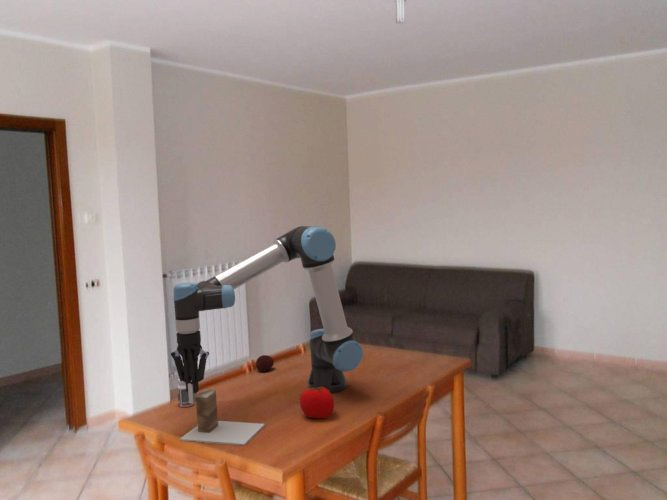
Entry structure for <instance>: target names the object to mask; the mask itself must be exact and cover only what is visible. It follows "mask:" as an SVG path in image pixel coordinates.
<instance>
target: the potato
mask: <svg viewBox="0 0 667 500" xmlns="http://www.w3.org/2000/svg"><path fill="white" fill-rule="evenodd" d="M274 363H275V360H274V359H273V357H271V356H270V355H266V354H265V355H264V354H263V355H260V356H259V357H258V358H257V359H256V362H255V367H256V369H257V370H258V371H259V372H266V371H269V370H270V369H272V368H273V366H274Z"/></svg>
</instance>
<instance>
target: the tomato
mask: <svg viewBox="0 0 667 500" xmlns="http://www.w3.org/2000/svg"><path fill="white" fill-rule="evenodd" d="M299 406H300V408H301V411H302V413H303V414H304V416H306V417H309V418H312V419H326V418H329V417H331V415H332V414H333V412H334V408H335V407H334V406H335V401H334V398H333V395H332V393H330V391H329V389H326V388H325V387H316V388H309V389H308V388H306V389H304V390H303V391H302V392H301V394H300V397H299Z"/></svg>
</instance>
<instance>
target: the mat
mask: <svg viewBox="0 0 667 500" xmlns="http://www.w3.org/2000/svg"><path fill="white" fill-rule="evenodd" d="M265 426H266V424H265V423H259V422H258V423H256V422H243V421H242V422H241V421H226V420H225V421H224V420H218V426H217V427H216V428H215V429H213V430H212V431H211V432H210V433H206V432H198V424H197V425H196V426H195V427H193V428H192V429H190V431H188V432H187V433H186V434H184V435H183V436H182V437H180V438H179V442H180V441H181V442H190V441H193V442H192V443H194V441H195V443H202V442H204V443H205V444H214V445H215V444H216V445H217V444H218V445H228V446H229V445H230V446H241V447H242V446H243V447H244V446H246V445H247V444H248V443H249V442H250V441H251V440H252V439H253V438H254V437H255V436H256V435H258V433H259V432H260V431H261V430H262V429H263V428H264V427H265Z"/></svg>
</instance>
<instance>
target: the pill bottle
mask: <svg viewBox="0 0 667 500" xmlns="http://www.w3.org/2000/svg"><path fill="white" fill-rule="evenodd" d="M177 383H178V385H177V388H176V389H177V402H178V403H177V404H178V406H179V407H180V408H187V407H192V406H193V405H195V403H193V404H191V403H189V394H188V393H187V392H186V383H185V382H184V381H180V379H179V378H178V379H177Z"/></svg>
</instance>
